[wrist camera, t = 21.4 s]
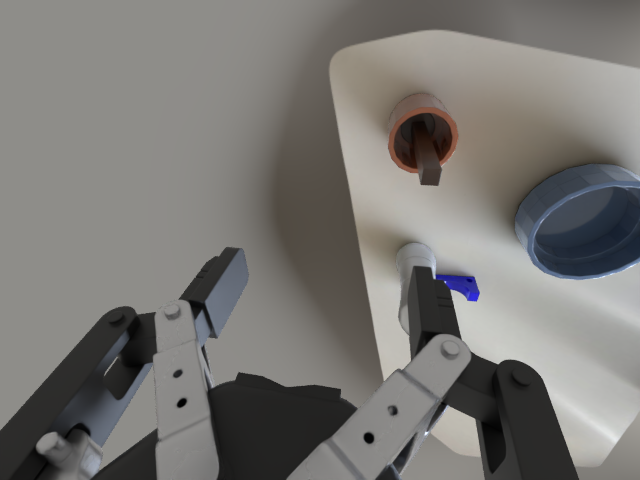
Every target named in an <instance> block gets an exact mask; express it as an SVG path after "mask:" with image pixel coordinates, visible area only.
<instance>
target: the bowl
mask: <svg viewBox="0 0 640 480" xmlns="http://www.w3.org/2000/svg"><path fill="white" fill-rule="evenodd" d="M515 232H516V234H517V236H518V238H519V240H520V242H521V244H522V246H523V248H524V249H525V251H526V252H527V254H528V256H529V258H530V259H531V261H532V263H533V264H534V265H535V266H537V267H538V268H539V269H540V270H542V271H543V272H544V273H547V274H550V275H552V276H555V277H558V278H563V279H574V280H584V279H593V278H600V277H603V276H607V275H610V274H614V273H617V272H620V271H623V270H625V269H627V268H629V267H631V266H633V265H635V264H637V263H639V262H640V176H638V175H636V174H635V173H633V172H632V171H630V170H627V169H624V168H622V167H619V166H616V165H613V164H588V165H583V166H578V167H573V168H569V169H567V170H564V171H562V172H560V173H558V174H555V175H553V176H551V177H549V178H548V179H546V180H545V181H544V182H542V183H541V184H539V185H538V186H537V187H535V188H534V189H533V190H532V191H531V192H530V193H529V194H528V196H527V197H526V198H525V199H524V200H523V202H522V203H521V204H520V207H519V209H518V212H517V214H516V217H515Z"/></svg>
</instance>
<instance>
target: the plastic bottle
mask: <svg viewBox="0 0 640 480" xmlns="http://www.w3.org/2000/svg"><path fill="white" fill-rule="evenodd" d="M414 265H415V266H426V267H431V268H432V273H433V279H436V276H435V272H436V259H435V256H434V254H433V252H432V251H431V249H430V248H428V247H427V246H425V245H423V244H420V243H410V244H407V245H405V246H403V247H402V248H401V249H400V250H399V251H398V254H397V258H396V266H397V270H398V273H399V277H400V282H401V300H400V307H399V316H398V318H399V322H400V324H401V326H402V328H403V330H404V331H405V332H406V333H407V334H408V335H409V320H408V305H407V298H408V289H409V284H410V279H411V274H412V269H413V266H414ZM409 343H410V337H409Z"/></svg>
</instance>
